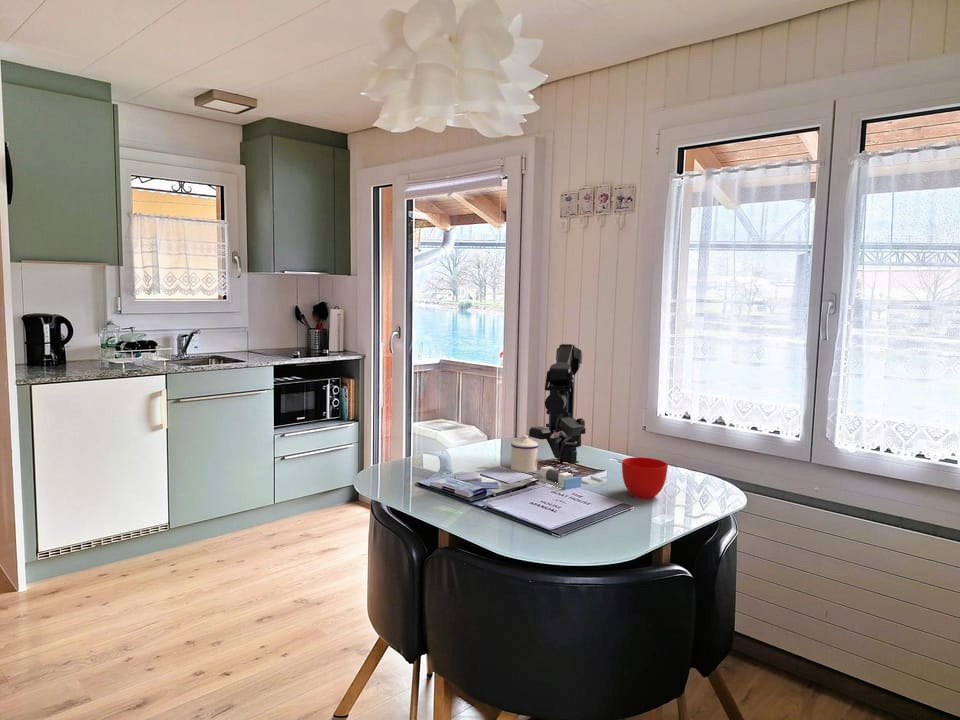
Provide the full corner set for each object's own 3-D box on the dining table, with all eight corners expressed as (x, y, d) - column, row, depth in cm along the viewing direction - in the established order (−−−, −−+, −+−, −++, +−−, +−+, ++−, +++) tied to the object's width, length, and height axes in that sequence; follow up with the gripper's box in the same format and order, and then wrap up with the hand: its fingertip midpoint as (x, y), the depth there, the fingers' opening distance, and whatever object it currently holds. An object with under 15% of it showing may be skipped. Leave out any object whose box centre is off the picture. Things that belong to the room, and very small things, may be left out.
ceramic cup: (666, 488, 208) (667, 456, 207) (665, 504, 191) (667, 469, 190) (622, 484, 211) (624, 452, 210) (619, 499, 195) (620, 465, 194)
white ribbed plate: (526, 480, 213) (526, 470, 212) (577, 471, 225) (578, 461, 225) (558, 492, 201) (558, 481, 200) (610, 482, 213) (611, 471, 213)
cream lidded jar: (542, 472, 223) (543, 437, 222) (516, 474, 220) (517, 439, 219) (527, 463, 234) (529, 430, 233) (503, 465, 231) (504, 431, 230)
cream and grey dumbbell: (540, 478, 214) (540, 467, 213) (548, 477, 216) (549, 466, 216) (563, 487, 205) (564, 475, 205) (572, 485, 207) (572, 474, 207)
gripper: (553, 414, 196) (551, 467, 198) (599, 409, 207) (597, 459, 209) (528, 409, 205) (527, 459, 207) (573, 404, 216) (572, 452, 218)
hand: (556, 458), depth 210 cm, fingers closed
